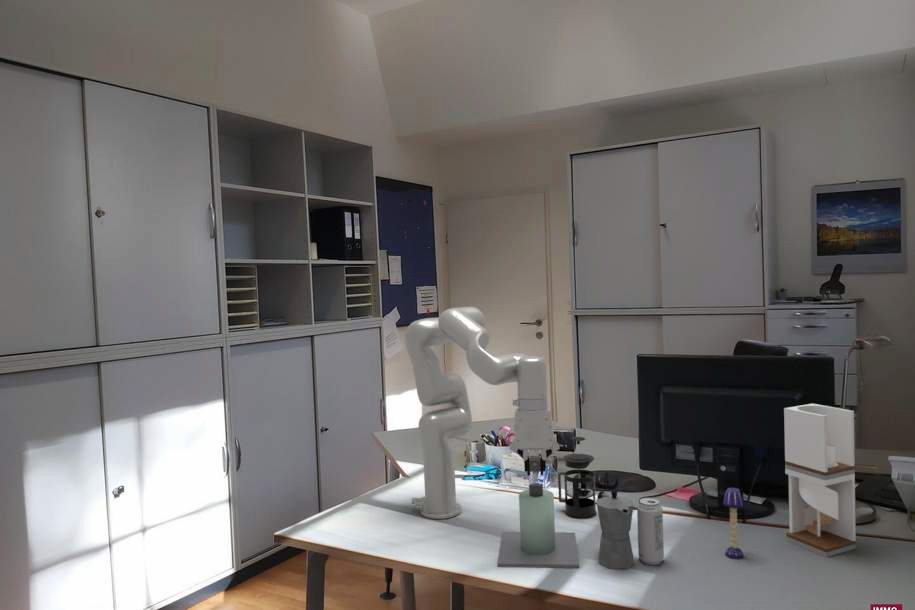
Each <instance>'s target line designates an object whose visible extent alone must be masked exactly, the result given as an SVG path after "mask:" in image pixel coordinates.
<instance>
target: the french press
mask: <svg viewBox="0 0 915 610" xmlns="http://www.w3.org/2000/svg"><path fill="white" fill-rule="evenodd" d="M570 440H571V441H574V442H575V441H576V444H577V453H569V454H566V455H565V456H563V460H564V461H565V463H564V465H565V467H567V468H571V469H570V470H566V471H560V472H558V474H557V480H558V482H557V483H558V502H559V503H563V504H564V505H565V510H564V514H565V516H567V517H568V518H571V519H577V520H578V519H579V520H585V519H592V518H594V517H596V516H597V514H598V511H597V510H596V506H597V503H596V481H595V479H596V477H595V472H593V471H592V470H587V468H588V467H589V465H590V464H591V463H592V462H593V461H594V460H595V457H594V456H593V455H591V454H586V453H580V444H581V442H583V441H586V438H585V437H583V436H573V437H570ZM570 475H578V478H577V477H570ZM562 476H564V477H563V479H564V499H562V479H561V477H562ZM587 476H589V477H587ZM568 482H569V483H572V488H568ZM590 482H592V489H590V488H587V483H590ZM568 497H569V498H568Z"/></svg>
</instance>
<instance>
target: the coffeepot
mask: <svg viewBox="0 0 915 610" xmlns="http://www.w3.org/2000/svg"><path fill="white" fill-rule="evenodd" d="M610 493H611V496H610V494H609V493H608V492H605V490H604V491H603V490H601V491H599V493H598V494H597V497H596V498H597V499H595V503H596V506H597V514H598V519H599V520H598V521H599V525H600V530H601V535H600V541H599V547H598V548H599V549H598V554H597V555H598V556H597V557H598V564H600V566H602V567H604V568H607V569H611V570H627V569H629V568H630V569H631V567H633V566H635V564H636V563H635V559H634V554H633V547H632V543H631V542H632V541H631V538H630V537H631V536H630V531H631V529H632V528H631V527H632V520H633V512H634V511H633V510H634V503H633V500H632V499H629V498H626V497H623V496H618V490H615V489H613V490H611V491H610Z"/></svg>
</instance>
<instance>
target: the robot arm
mask: <svg viewBox="0 0 915 610" xmlns="http://www.w3.org/2000/svg"><path fill="white" fill-rule="evenodd" d="M485 325H486V318H485V315H484V314H483V312H482V311H481V310H480V309H479V308H477V307H475V306H461V307H451V308H448V309H445V310H444V311H442V312H441V314H439V316H438V317H427V318H421V319H418V320H414V321H412V322H411V323H410V324H409V325H408V326H407V328H406V330H405V334H404V335H405V336H404V343H405V347H406V351H407V354H408V356H409V358H410V359H409V360H410V362H411V366H412V373H413V376H414V382H415V387H416V393H417V397H418V400H419V402H420V404H421V405H423V406H425V407H436V406H440V405H445V404H446V406H447V407H445V408H440V409H436V410H431V411H428V412H425V413H424V414H422V416H421V417H420V419H419V420H418V431H419V432H418V433H419V436H420V441H421V447H422V458H423V459H422V460H423V463H422V464H423V479H424V481H423V482H424V484H423V485H424V496H422V497H421V498H419V497H411V504H412V505H413V506H414V507H421V508H420V514H421V515H422V516H423V517H425V518H428V519H433V520H434V519H435V520H437V519H438V520H442V519H450V518H454V517H456V516H458V515H459V514H461V512H462V505H460V504H459V503H457V493H456V492H457V491H456V490H457V489H456V470H455V469H456V467H455V454H454V451H453V449H452V447H451V446H450V444H449V442H448V441H449V440H452V439H455V438H459V437H462V436H465V435H467V434H468V433H470V431H471V430H472V425H473V419H472V418H473V416H472V412H471V406H470V402H469V397H468V396H469V395H468V392H467V391H468V390H467V387H466V384H465V381H464V379H463V378H462V376H461V375H459V374H458V373H456V372H453V371H449V372H442V369H441V363H440V360H439V358H438V355H437V354H436V352H435V351H434V350H433V349H431V348H430V347H432V346H440V345H449V344H454V343H455V344H456V345H457V346H458V347H460V348H461V349H462V350H463V351H464V352H465V357H466V361H467V364H468V366H469V368H470V370H471V371H472V372H473V373H474V374H475V376H477V377H478V378H480V379H481V380H482V381H483V382H484V383H486V384H489V385H492V386H500V385H504V384H510V383H516V382H517V398H516V399H512V406H516V407H518V408H517V409H515V413H514V420H513V421H514V422H513V423H514V426H513V427H514V428H513V429H514V431H513V436H514V437H513V439H512V442H511V443H510V445H509V450H510V451H512V452H514V453H516V454H518V455H519V457H521V458H522V460H523V462H524V464H523V465H524V472H525V473H526V475H527V477H529V476H531V472H530V467H529V458H530V455H529V450H540V454H541V455H540V467H541V472H540V476H544V472H547V467H546V466H547V465H546V464H547V463H546V460H547V459H548V458H549V457H550V455H552V454H553V453H555V452H557V451H559V450H560V445H559V443H558V442H557V440H556V437H555V433H554V423H553V416H552V411H551V409H550V408H549V407H548V385H547V384H548V383H547V382H548V380H547V363H546V360H545V358H544V357H543V356H542V357H541V356H537V355H531V356H530V355H527V354H524V353H517V352H516V353H515V352H514V353H509V354H502V355H495V356H493V355H491V354H489V353H488V352H487V351H485V349H486V348H487V347H488V346H489V343H490V339H491V338H490V333H489V331H488V330H487V329H486V328H485Z"/></svg>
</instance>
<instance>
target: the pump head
mask: <svg viewBox="0 0 915 610" xmlns="http://www.w3.org/2000/svg"><path fill="white" fill-rule="evenodd" d="M540 458H541V455H529V467H530V473H531V472H532V477H533V478H532V479H533V480H532V481H533V482H534V483H537V482H539V476H538V475H539V473H541V467H540Z"/></svg>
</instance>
